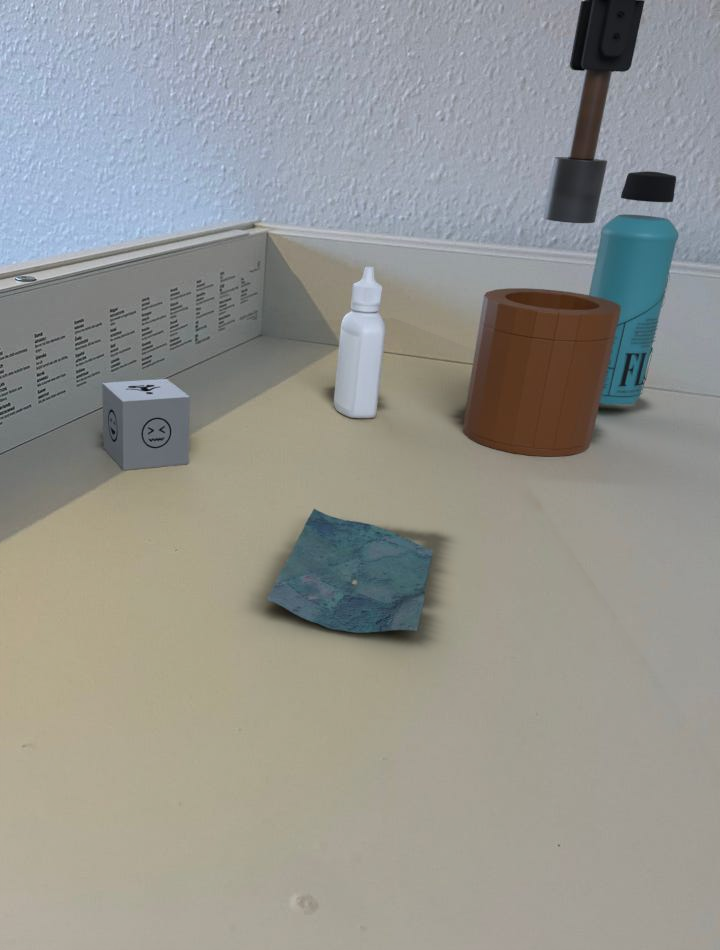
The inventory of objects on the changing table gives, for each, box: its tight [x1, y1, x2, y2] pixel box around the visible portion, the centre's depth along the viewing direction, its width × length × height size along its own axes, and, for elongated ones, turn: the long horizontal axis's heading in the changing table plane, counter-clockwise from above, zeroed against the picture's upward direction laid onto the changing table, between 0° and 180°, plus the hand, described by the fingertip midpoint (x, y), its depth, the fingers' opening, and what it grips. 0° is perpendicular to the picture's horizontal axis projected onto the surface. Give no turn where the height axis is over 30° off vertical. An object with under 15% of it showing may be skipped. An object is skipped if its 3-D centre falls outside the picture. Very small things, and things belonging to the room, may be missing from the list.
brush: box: [543, 69, 613, 224], centre depth 68 cm, size 4×4×15 cm
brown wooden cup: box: [462, 287, 621, 457], centre depth 80 cm, size 10×10×11 cm
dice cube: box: [101, 378, 191, 471], centre depth 73 cm, size 5×5×5 cm
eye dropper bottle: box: [333, 266, 386, 419], centre depth 84 cm, size 4×6×12 cm
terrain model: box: [266, 508, 434, 634], centre depth 55 cm, size 13×8×2 cm, turn 165°
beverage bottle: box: [588, 170, 679, 406], centre depth 86 cm, size 6×7×20 cm
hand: (599, 68), depth 67 cm, fingers closed on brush
